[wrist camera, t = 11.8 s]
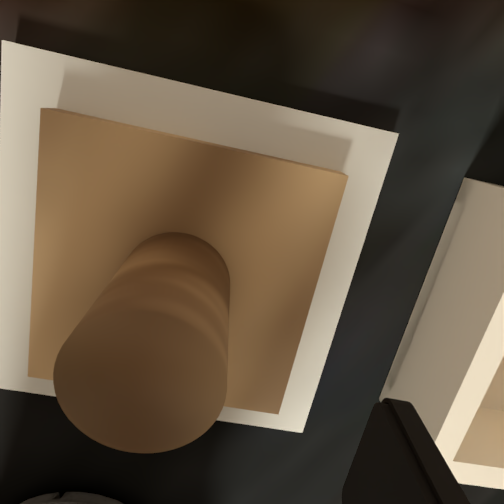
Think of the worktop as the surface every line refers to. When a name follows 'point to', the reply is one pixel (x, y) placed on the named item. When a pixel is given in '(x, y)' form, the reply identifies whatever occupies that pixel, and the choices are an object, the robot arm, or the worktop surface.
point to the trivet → (192, 126)
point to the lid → (169, 277)
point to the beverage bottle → (71, 499)
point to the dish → (460, 340)
